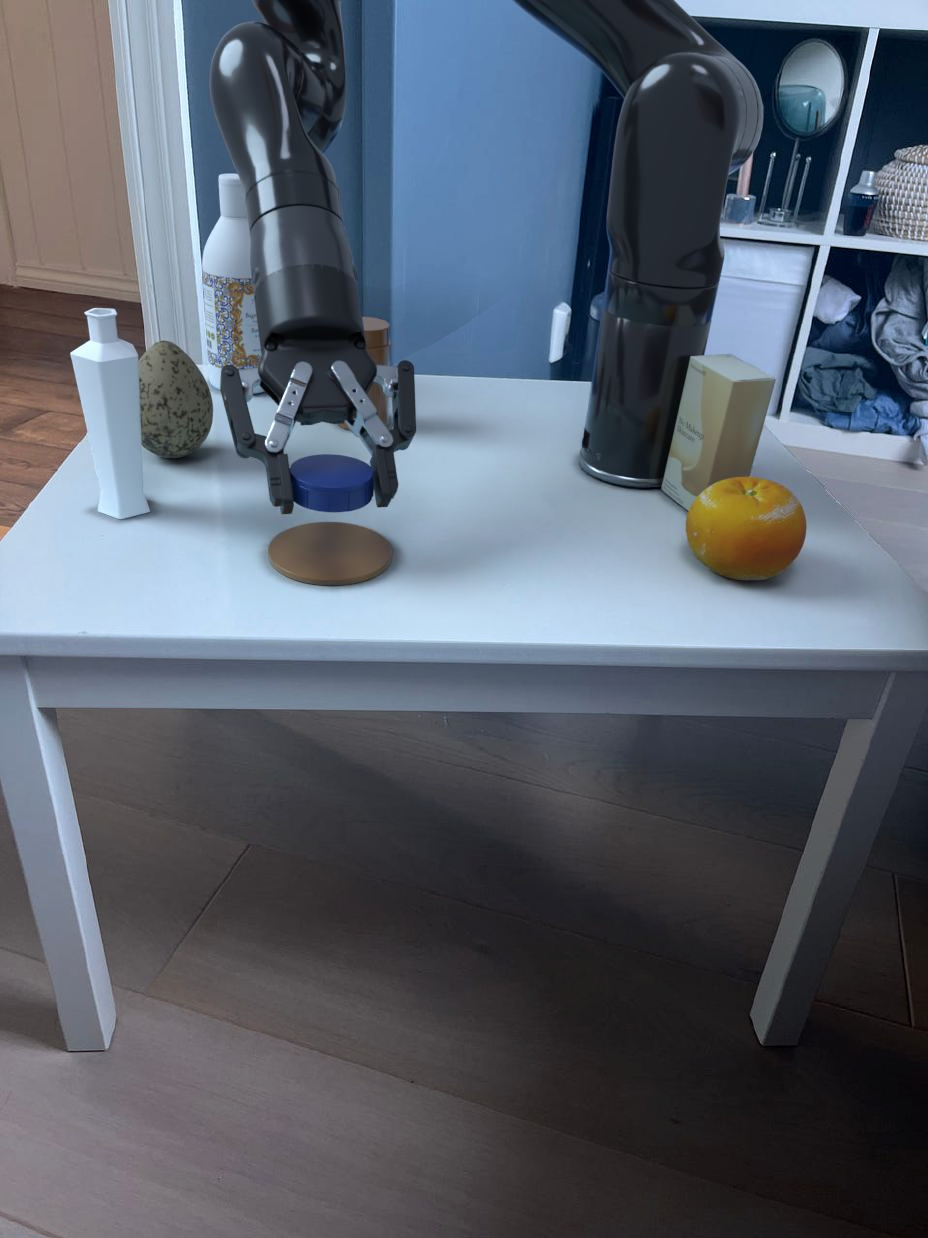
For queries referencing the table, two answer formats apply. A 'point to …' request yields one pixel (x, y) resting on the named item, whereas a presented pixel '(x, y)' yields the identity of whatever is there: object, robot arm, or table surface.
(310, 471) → the lid
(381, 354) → the jar
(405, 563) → the table surface
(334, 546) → the coaster
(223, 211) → the bath foam
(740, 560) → the fruit
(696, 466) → the cosmetic box
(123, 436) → the perfume bottle
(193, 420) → the decorative egg
